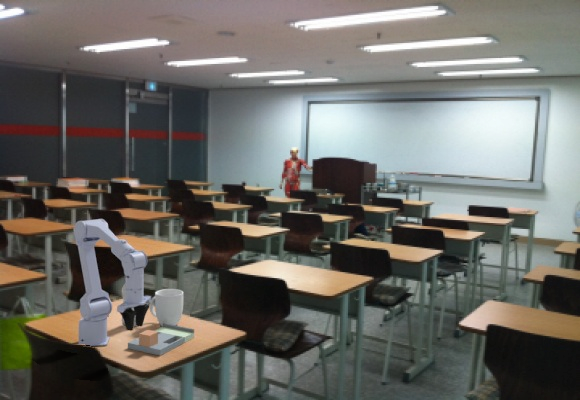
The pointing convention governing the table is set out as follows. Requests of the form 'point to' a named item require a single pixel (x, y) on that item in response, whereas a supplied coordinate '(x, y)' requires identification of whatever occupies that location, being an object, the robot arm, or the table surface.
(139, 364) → the table surface
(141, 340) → the block
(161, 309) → the mug
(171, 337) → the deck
